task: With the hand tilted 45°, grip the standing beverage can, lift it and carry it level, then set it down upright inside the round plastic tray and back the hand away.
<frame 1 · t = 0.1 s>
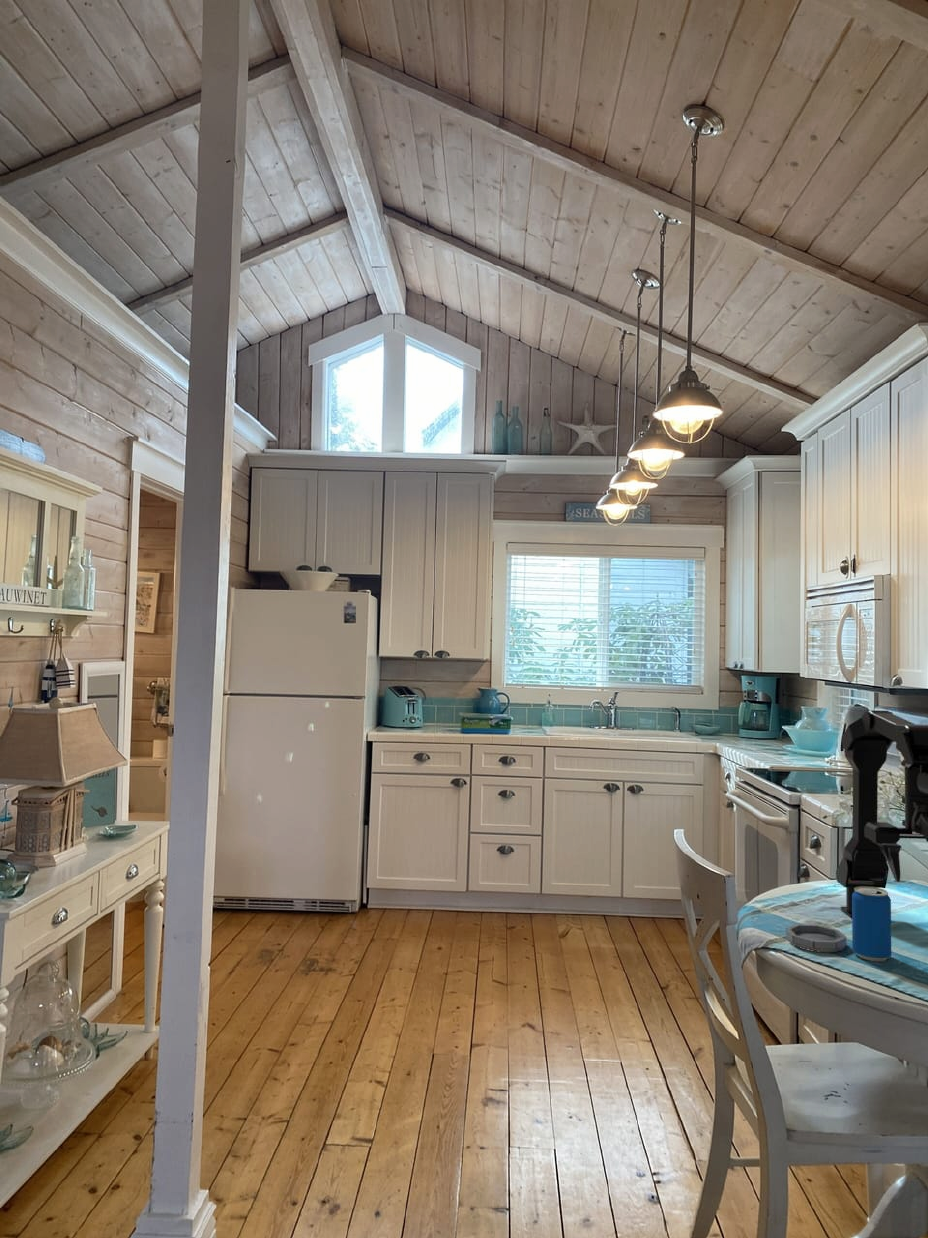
hand: (923, 881, 151), 15 cm above the table, tool pointing down, fingers open, 9 cm apart
tray: (815, 943, 161), on the table
beverage can: (871, 957, 154), on the table
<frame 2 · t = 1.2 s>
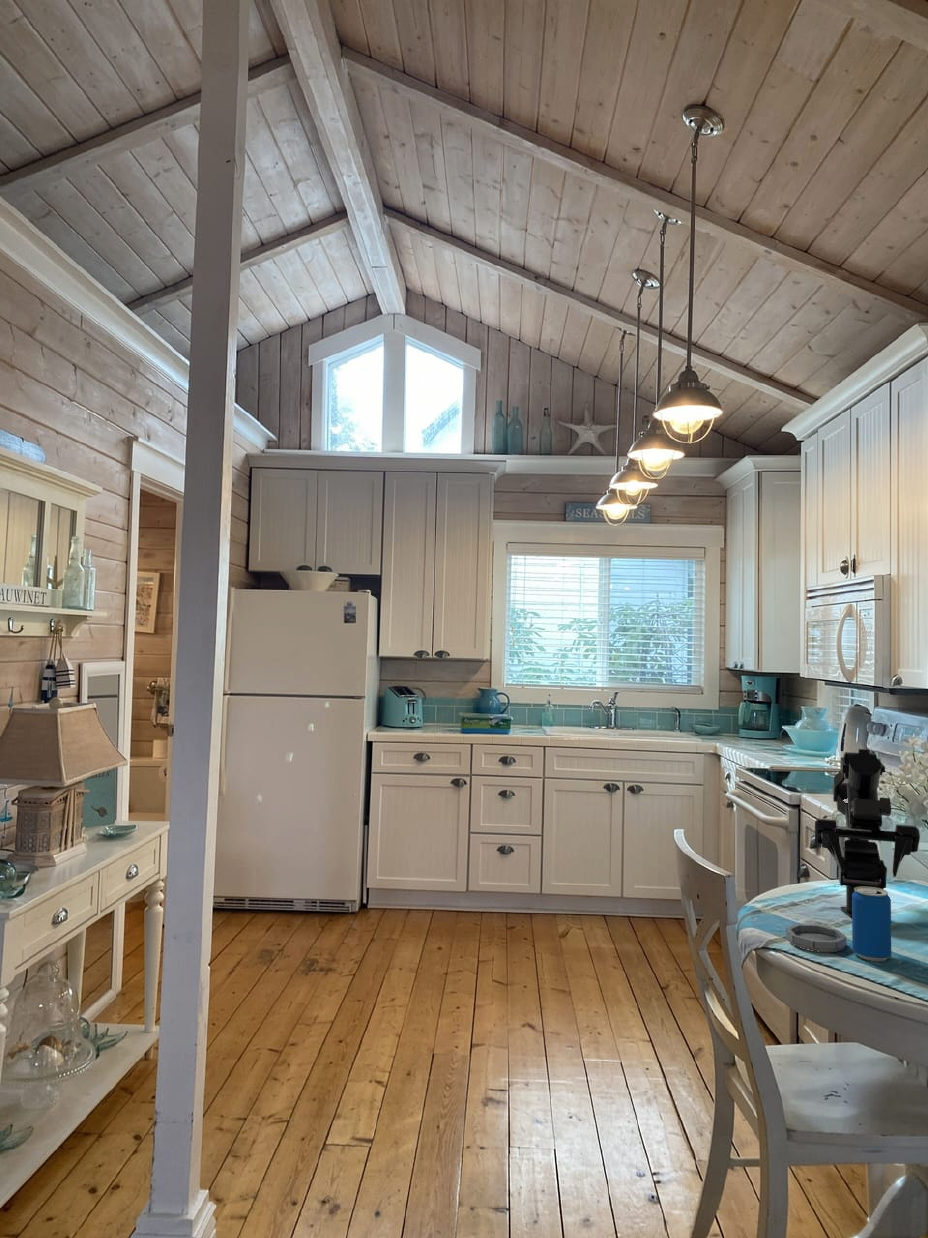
hand: (868, 873, 162), 13 cm above the table, tool tilted 45°, fingers open, 9 cm apart
nothing on the table moved.
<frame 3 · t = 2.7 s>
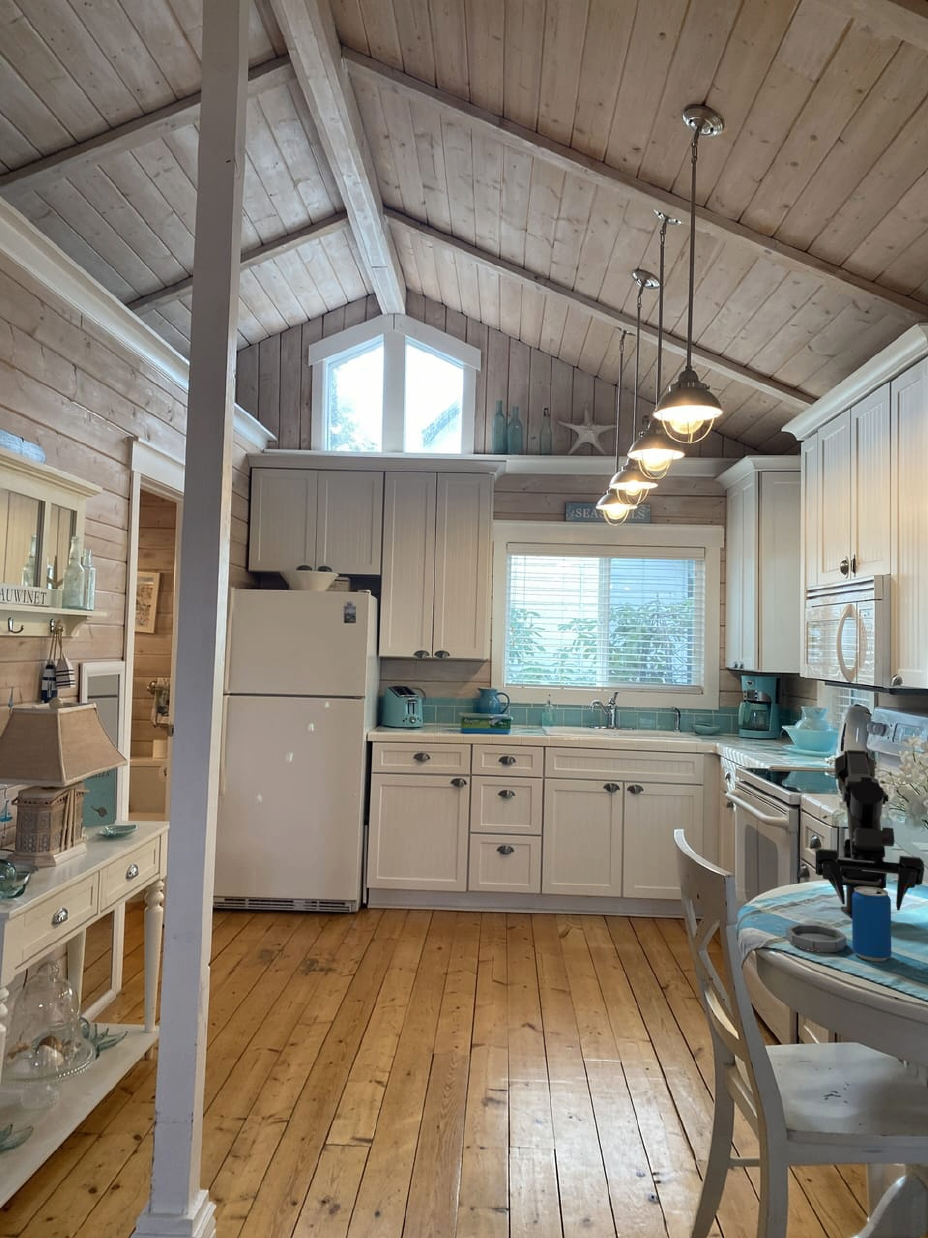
hand: (870, 906, 156), 9 cm above the table, tool tilted 45°, fingers open, 9 cm apart
nothing on the table moved.
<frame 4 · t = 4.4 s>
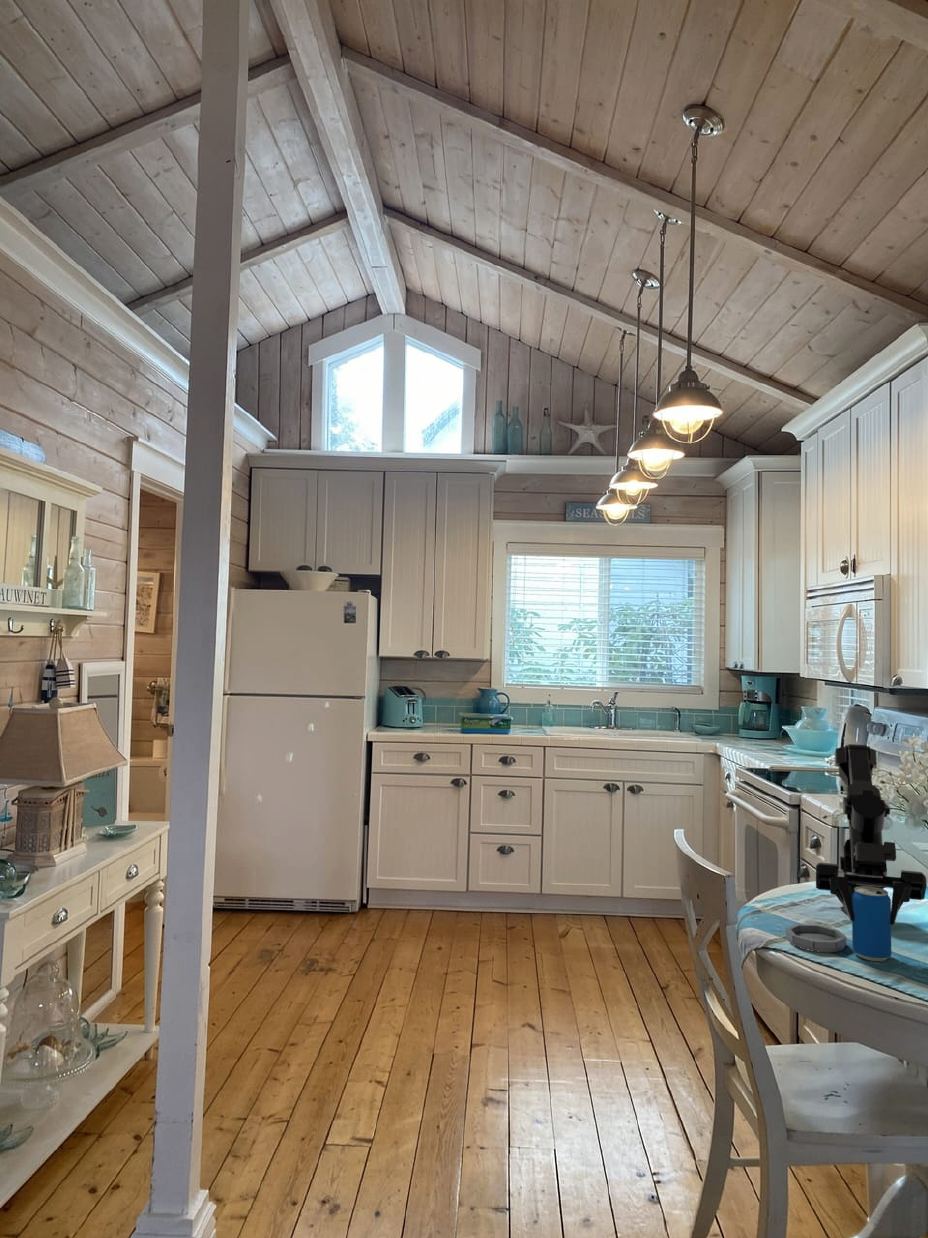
hand: (872, 922, 153), 7 cm above the table, tool tilted 45°, fingers closed on beverage can, 6 cm apart
beverage can: (871, 957, 154), on the table, touching gripper
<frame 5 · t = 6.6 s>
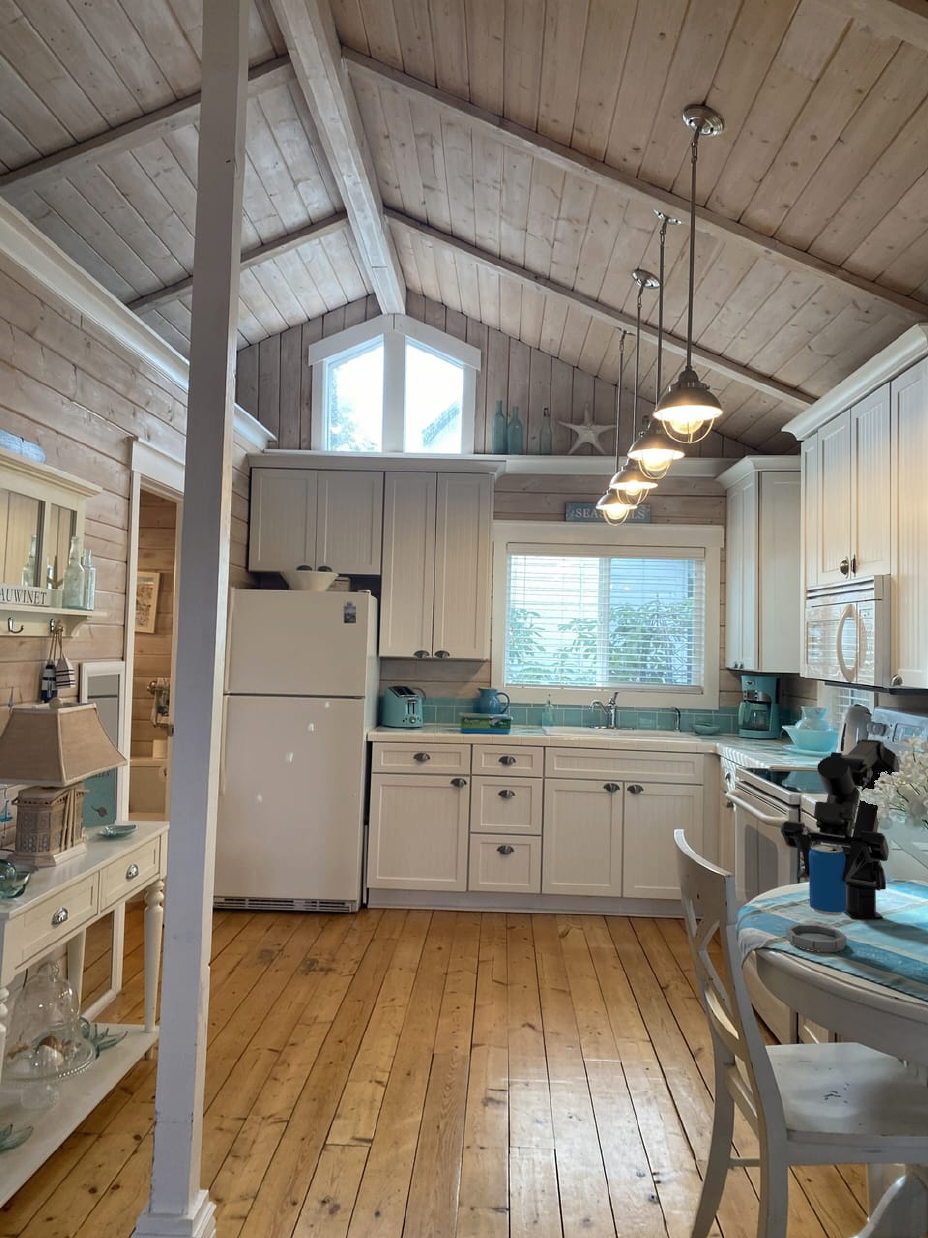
hand: (825, 877, 159), 13 cm above the table, tool tilted 45°, fingers closed on beverage can, 6 cm apart
beverage can: (828, 912, 159), point 6 cm above the table, touching gripper
when the fingers open (9 cm above the table, at t = 8.8 s): beverage can drops 1 cm, resting on tray.
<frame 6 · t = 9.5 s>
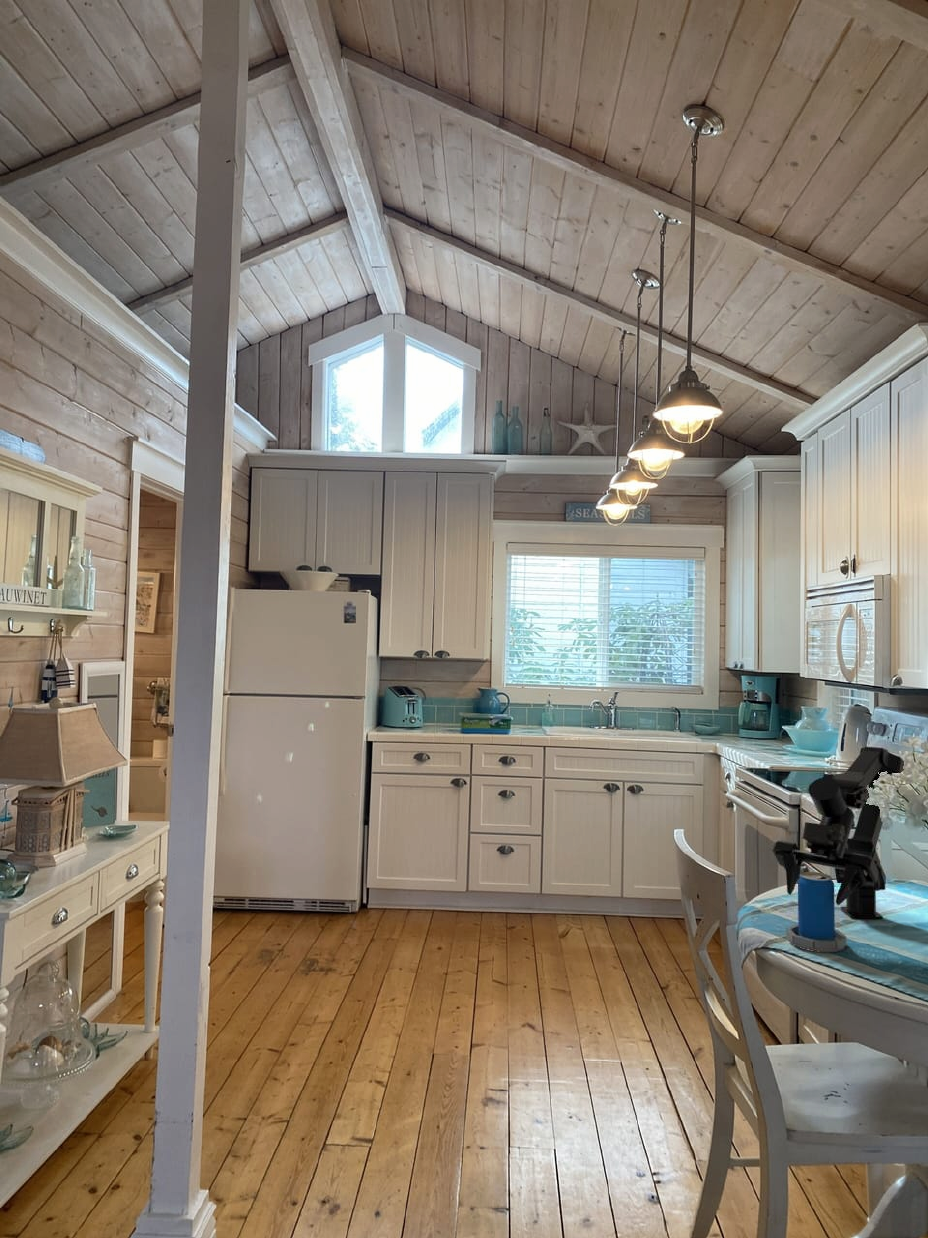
hand: (812, 898, 160), 9 cm above the table, tool tilted 45°, fingers open, 9 cm apart
beverage can: (816, 939, 161), point 1 cm above the table, touching tray
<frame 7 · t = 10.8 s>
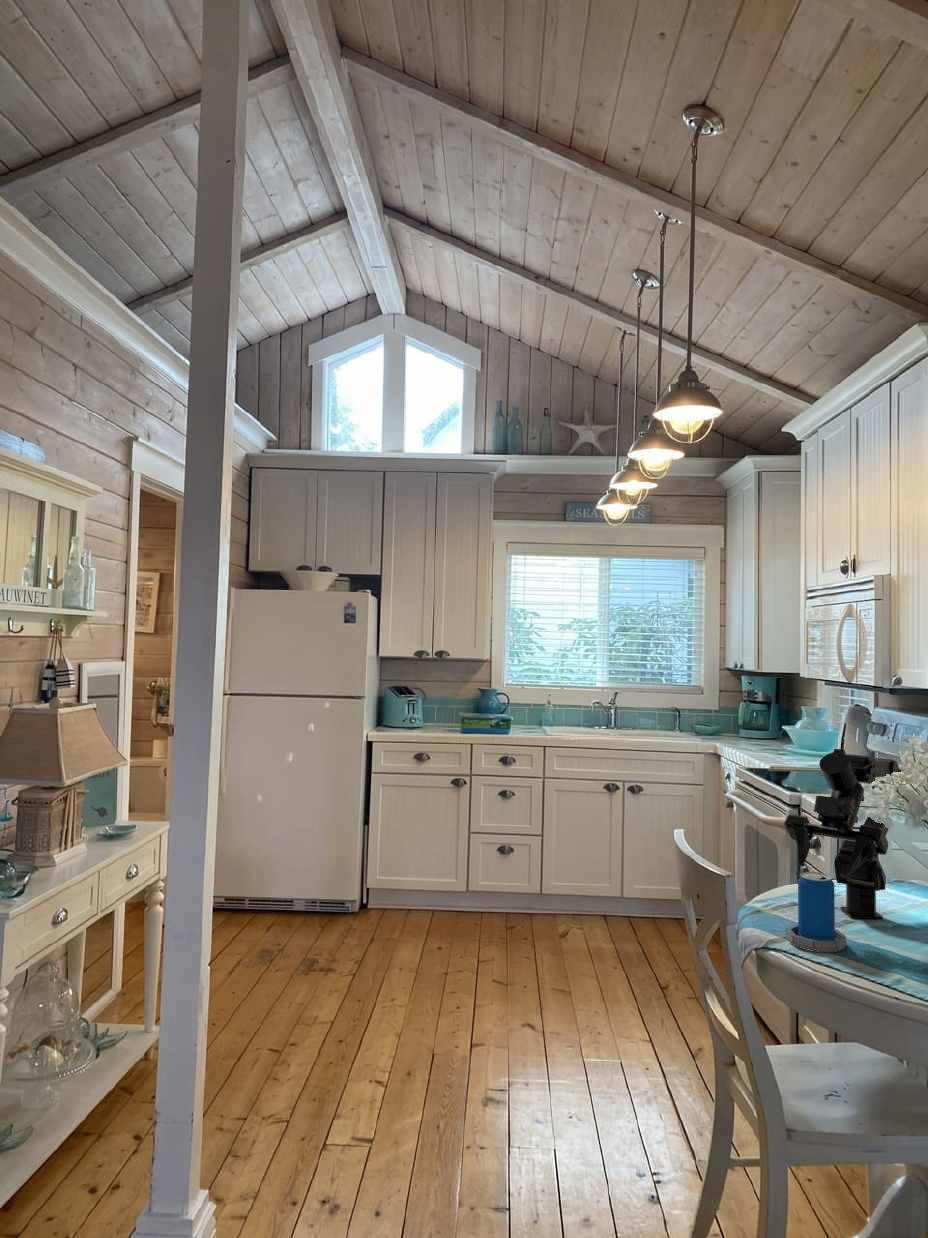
hand: (824, 869, 164), 13 cm above the table, tool tilted 45°, fingers open, 9 cm apart
nothing on the table moved.
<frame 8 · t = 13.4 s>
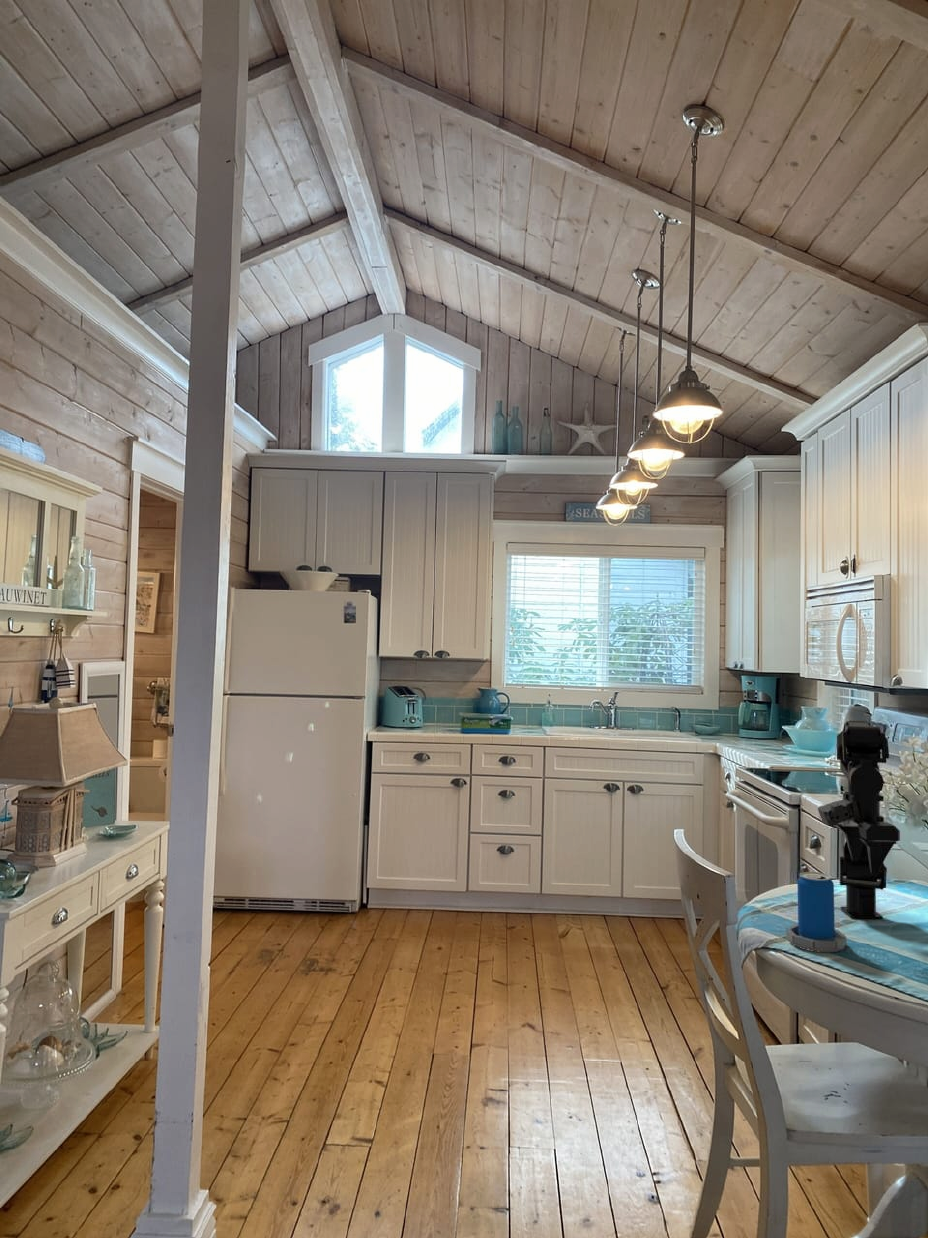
hand: (864, 867, 167), 13 cm above the table, tool pointing down, fingers open, 9 cm apart
nothing on the table moved.
at the end: beverage can 0.3 cm off-centre on the tray, point 0.6 cm above the tray's base; beverage can tilted 1°; the gripper is holding nothing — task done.
